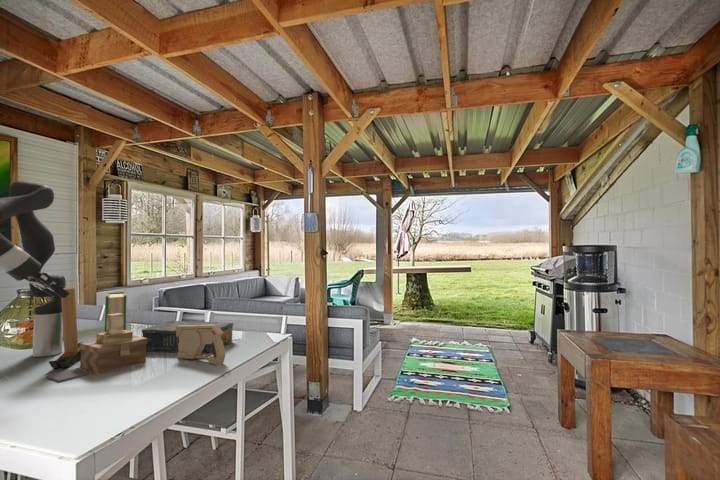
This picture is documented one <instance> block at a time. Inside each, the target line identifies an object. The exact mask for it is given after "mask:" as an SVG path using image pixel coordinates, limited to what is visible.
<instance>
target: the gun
mask: <svg viewBox="0 0 720 480" xmlns="http://www.w3.org/2000/svg"><path fill="white" fill-rule="evenodd" d="M222 335H223V331H222V330H221V329H220V327H219V326H218V325H180V326H176V336H179V343H178V352H177V355H176V358H177V359H181V360H206V361H208V363H211V364H212V365H215V366H221V365H224V362H225V358H226V349H225V346H224V345H223V341H222V340H221V336H222ZM206 344H209V348H210V347H212V354H202V353H201V352H202V350H203V349H204V347H205V345H206Z"/></svg>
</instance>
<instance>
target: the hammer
mask: <svg viewBox="0 0 720 480" xmlns="http://www.w3.org/2000/svg"><path fill="white" fill-rule="evenodd" d="M63 289H65V290H66V291H67V292H69V295H68V296H66V297H65V298H62V297H61V304H62V320H63V350H64V352H62V354H61V355H60V356H59V357H58V358H56V360H48V364H49V365H50V367H51V368H52V369H59V368H60V369H61V368H70V367H72V366H74V365H76V364H77V363H78V362H79V363H80V360H81V349H80V343H83V342H84V341H80V342H79V340H78V321H77V320H78V319H77V304H76V302H77V301H76V299H77V298H76V289H75V287H74V286H68V287H67V286H66V287H65V288H63Z"/></svg>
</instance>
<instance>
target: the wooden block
mask: <svg viewBox="0 0 720 480" xmlns="http://www.w3.org/2000/svg"><path fill="white" fill-rule="evenodd" d="M123 327H124V314H121V313H116V314H108V315H107V329H106V334H108V335H113V334H119V333H123Z"/></svg>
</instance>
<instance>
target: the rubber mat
mask: <svg viewBox="0 0 720 480" xmlns="http://www.w3.org/2000/svg"><path fill="white" fill-rule="evenodd" d="M91 374H92V371H89V370H86V369H83V368H81V367H75V368H72V369H67V370H63V371H58V372H55V373H50V374H47V375H45V378H47V379H49V380H52V381H54V382H56V383H62V382H65V381H70V380H74V379H77V378H80V377H81V378H82V377H85V376H91Z"/></svg>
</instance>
